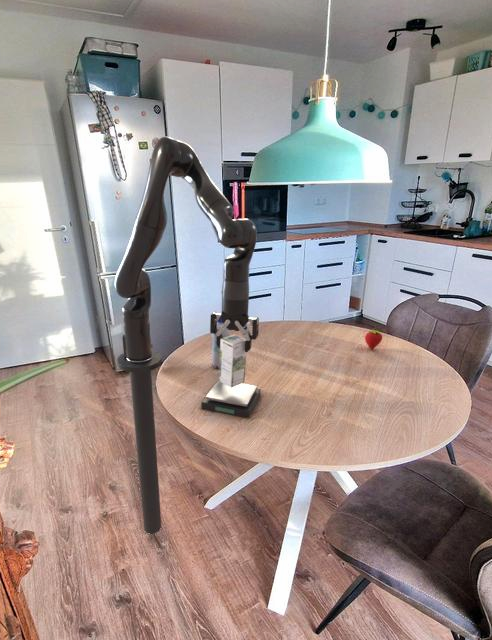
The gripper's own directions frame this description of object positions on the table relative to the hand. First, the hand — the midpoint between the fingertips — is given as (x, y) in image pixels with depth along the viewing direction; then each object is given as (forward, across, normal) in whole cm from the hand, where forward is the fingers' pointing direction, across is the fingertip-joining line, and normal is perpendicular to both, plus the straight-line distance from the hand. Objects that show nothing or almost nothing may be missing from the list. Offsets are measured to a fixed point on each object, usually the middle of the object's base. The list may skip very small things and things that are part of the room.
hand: (233, 349), depth 114 cm
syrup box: (+11, 0, 0) cm, 11 cm away
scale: (+18, 0, 0) cm, 18 cm away
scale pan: (+15, 0, 0) cm, 15 cm away
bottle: (+18, +12, -23) cm, 32 cm away
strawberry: (+18, -43, -62) cm, 78 cm away
